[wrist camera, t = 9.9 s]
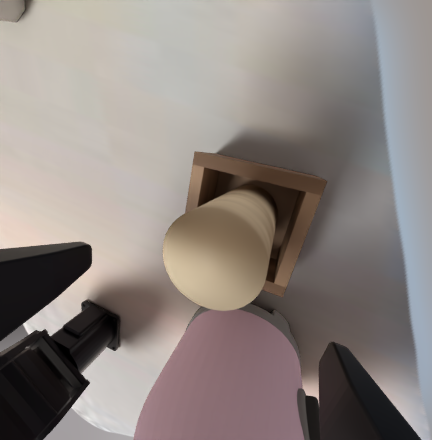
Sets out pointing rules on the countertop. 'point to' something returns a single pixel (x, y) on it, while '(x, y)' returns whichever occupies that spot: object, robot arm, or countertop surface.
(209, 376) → the blender
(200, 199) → the wooden square box
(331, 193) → the countertop surface
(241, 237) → the beech peg
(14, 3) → the salt shaker
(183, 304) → the countertop surface
